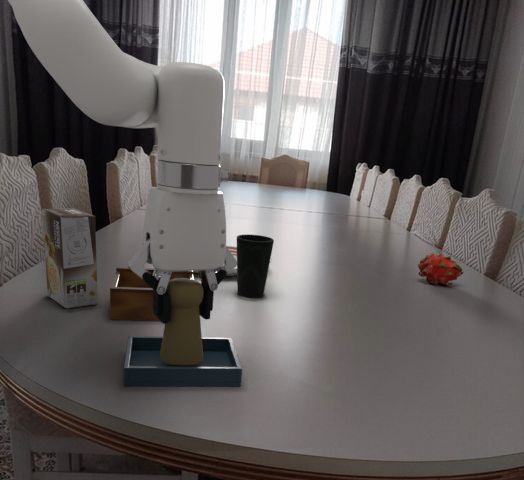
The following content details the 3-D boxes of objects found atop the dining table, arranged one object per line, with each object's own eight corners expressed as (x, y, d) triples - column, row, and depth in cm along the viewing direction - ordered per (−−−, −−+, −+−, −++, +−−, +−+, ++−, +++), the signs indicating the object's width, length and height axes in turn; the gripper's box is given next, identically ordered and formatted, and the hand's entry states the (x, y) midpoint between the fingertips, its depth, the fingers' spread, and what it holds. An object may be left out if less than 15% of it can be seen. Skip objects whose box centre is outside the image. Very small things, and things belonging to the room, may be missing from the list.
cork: (154, 350, 73) (155, 274, 69) (194, 346, 76) (198, 273, 72) (167, 367, 69) (169, 287, 64) (209, 362, 71) (214, 285, 67)
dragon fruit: (409, 284, 139) (453, 296, 138) (420, 272, 130) (466, 285, 130) (415, 256, 141) (458, 268, 140) (426, 242, 132) (472, 255, 132)
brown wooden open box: (110, 319, 89) (109, 288, 86) (116, 294, 102) (116, 266, 100) (196, 322, 91) (197, 291, 89) (191, 297, 105) (192, 270, 103)
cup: (229, 296, 108) (233, 238, 103) (236, 287, 115) (240, 233, 110) (265, 301, 107) (271, 243, 102) (270, 292, 114) (275, 237, 109)
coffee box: (99, 304, 95) (97, 215, 89) (65, 309, 91) (60, 216, 85) (78, 291, 101) (75, 207, 95) (45, 295, 97) (39, 207, 91)
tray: (123, 386, 66) (123, 367, 66) (128, 352, 77) (128, 335, 76) (240, 386, 70) (242, 368, 69) (230, 353, 80) (231, 337, 79)
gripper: (235, 178, 71) (226, 305, 77) (109, 171, 62) (112, 314, 69) (263, 185, 65) (251, 321, 72) (128, 178, 56) (129, 334, 63)
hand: (183, 316), depth 70 cm, fingers closed on cork, 5 cm apart
